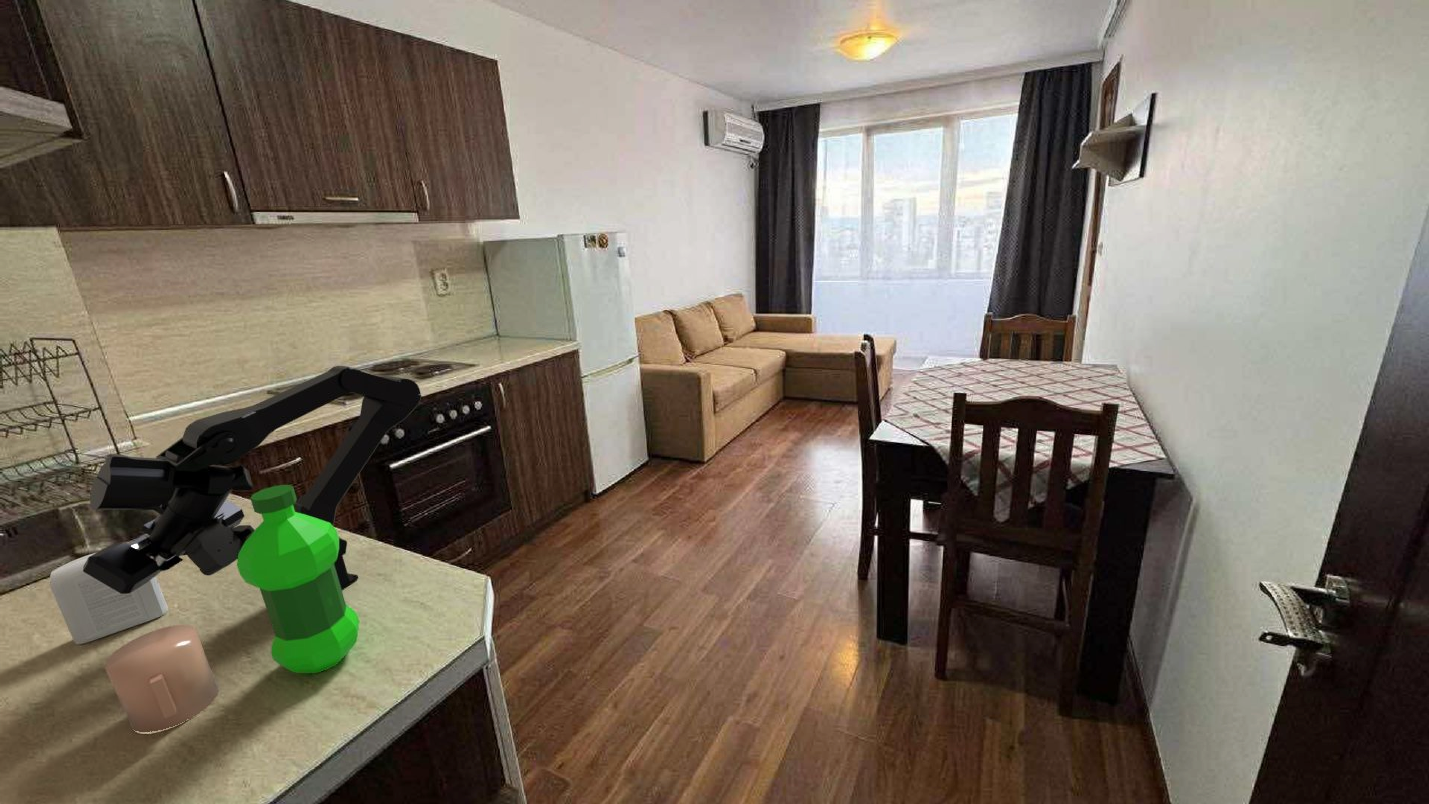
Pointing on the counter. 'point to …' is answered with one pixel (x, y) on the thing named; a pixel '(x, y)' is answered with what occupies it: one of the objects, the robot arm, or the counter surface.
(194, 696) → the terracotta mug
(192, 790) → the counter surface
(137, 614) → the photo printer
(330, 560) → the plastic bottle
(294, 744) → the counter surface
